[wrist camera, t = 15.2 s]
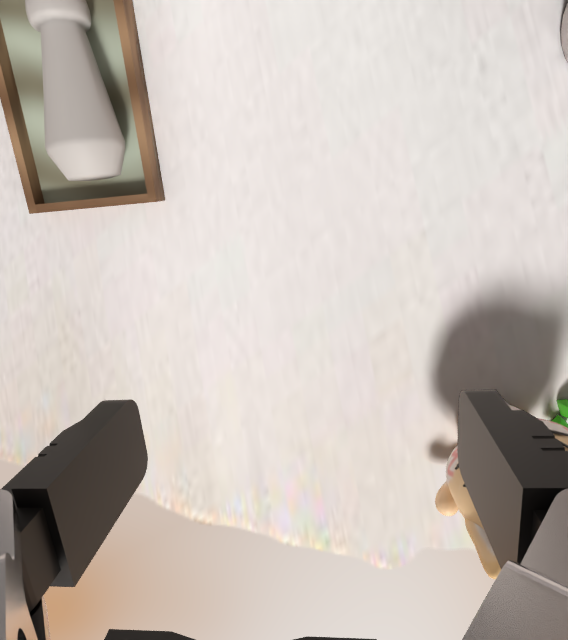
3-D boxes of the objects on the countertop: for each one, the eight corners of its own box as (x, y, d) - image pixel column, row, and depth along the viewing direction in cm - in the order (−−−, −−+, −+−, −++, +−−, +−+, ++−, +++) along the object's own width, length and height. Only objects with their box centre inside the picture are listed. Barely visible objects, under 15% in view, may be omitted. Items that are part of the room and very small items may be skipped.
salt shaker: (46, 175, 32) (-2, -32, 30) (57, 185, 38) (17, 10, 35) (131, 168, 34) (93, -29, 31) (130, 178, 39) (98, 11, 37)
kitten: (567, 356, 40) (697, 455, 26) (587, 450, 43) (715, 586, 29) (402, 401, 43) (437, 513, 29) (430, 487, 46) (475, 628, 31)
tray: (-16, -29, 35) (-35, -41, 34) (123, -52, 34) (111, -66, 32) (43, 211, 41) (29, 213, 39) (165, 200, 39) (156, 201, 38)
